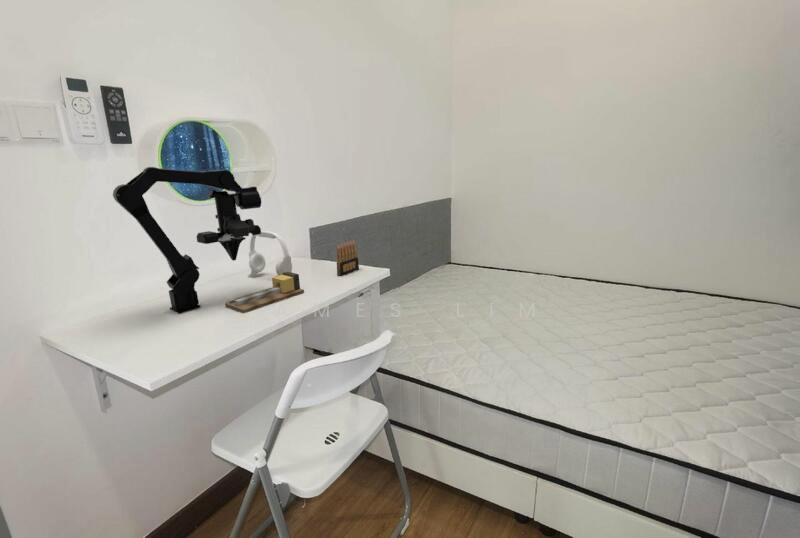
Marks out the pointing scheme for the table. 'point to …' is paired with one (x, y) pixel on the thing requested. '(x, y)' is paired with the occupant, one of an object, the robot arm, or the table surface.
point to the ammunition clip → (347, 259)
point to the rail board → (264, 301)
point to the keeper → (283, 283)
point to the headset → (259, 261)
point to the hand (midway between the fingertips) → (233, 260)
